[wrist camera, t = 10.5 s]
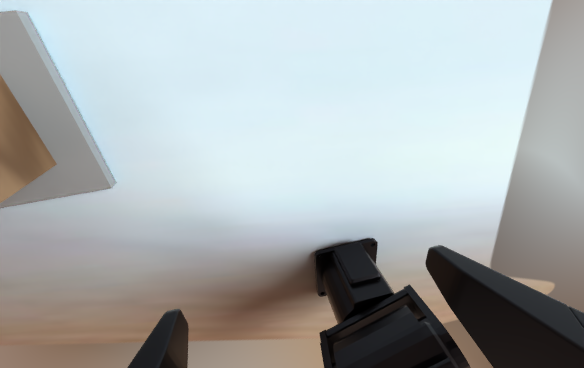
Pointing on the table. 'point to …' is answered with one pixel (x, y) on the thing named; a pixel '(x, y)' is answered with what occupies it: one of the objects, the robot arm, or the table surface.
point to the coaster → (48, 116)
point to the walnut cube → (18, 147)
